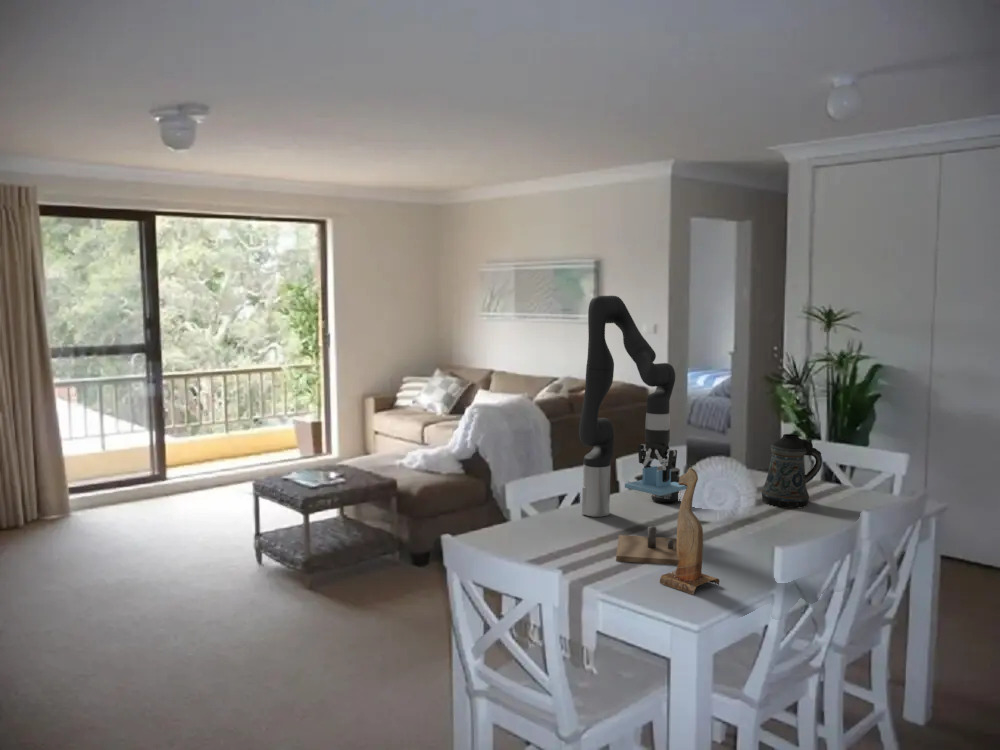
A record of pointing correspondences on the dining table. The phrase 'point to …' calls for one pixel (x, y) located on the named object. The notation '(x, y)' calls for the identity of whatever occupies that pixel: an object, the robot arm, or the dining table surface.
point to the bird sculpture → (688, 543)
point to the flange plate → (655, 483)
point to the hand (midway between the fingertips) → (656, 479)
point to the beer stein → (789, 472)
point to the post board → (647, 549)
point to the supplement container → (670, 497)
